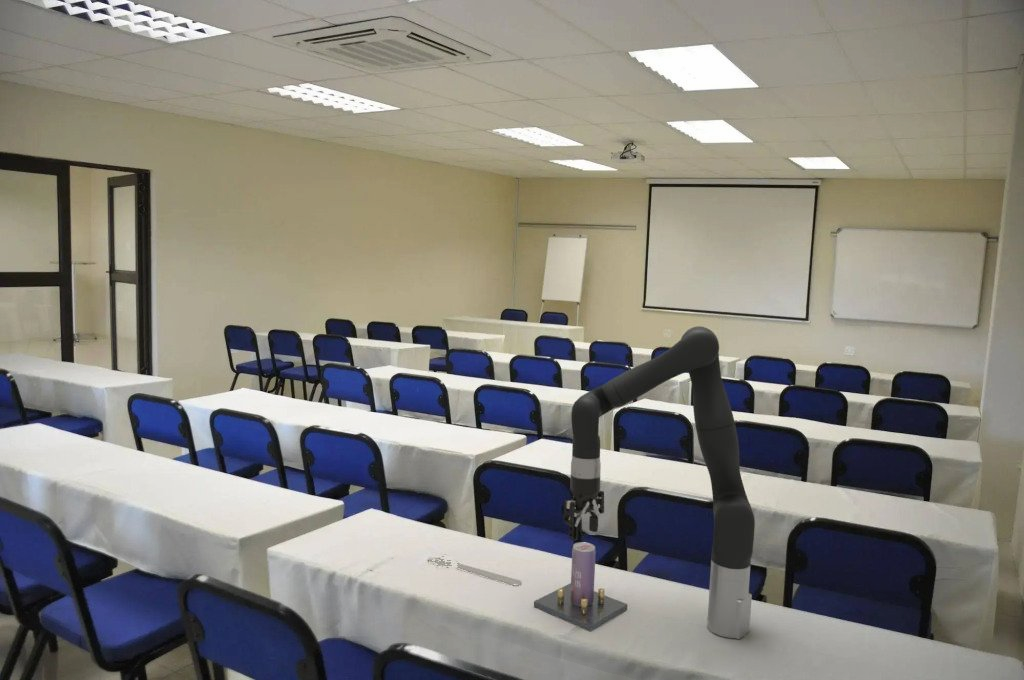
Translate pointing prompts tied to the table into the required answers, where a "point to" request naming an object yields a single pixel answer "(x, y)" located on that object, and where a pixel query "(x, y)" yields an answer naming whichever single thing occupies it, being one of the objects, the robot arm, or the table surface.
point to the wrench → (480, 572)
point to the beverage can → (582, 573)
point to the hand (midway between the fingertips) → (583, 535)
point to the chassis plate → (574, 610)
